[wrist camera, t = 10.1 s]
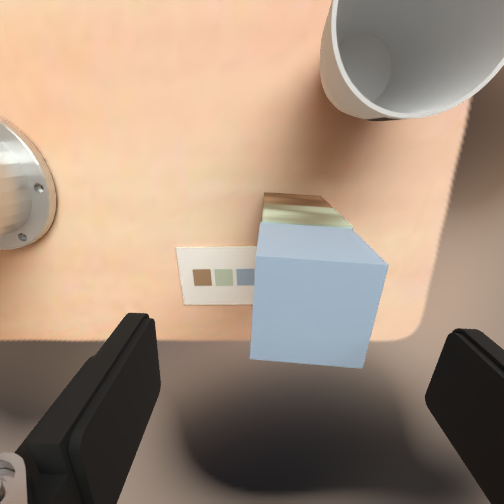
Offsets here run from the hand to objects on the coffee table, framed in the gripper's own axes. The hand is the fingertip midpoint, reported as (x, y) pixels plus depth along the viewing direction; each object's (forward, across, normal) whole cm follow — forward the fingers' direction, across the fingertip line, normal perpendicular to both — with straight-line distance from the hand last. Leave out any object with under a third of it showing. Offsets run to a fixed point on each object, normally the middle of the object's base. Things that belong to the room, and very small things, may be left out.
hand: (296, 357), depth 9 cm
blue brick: (+7, -1, 0) cm, 8 cm away
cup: (+18, -6, -12) cm, 22 cm away
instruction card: (+18, +4, +6) cm, 19 cm away
